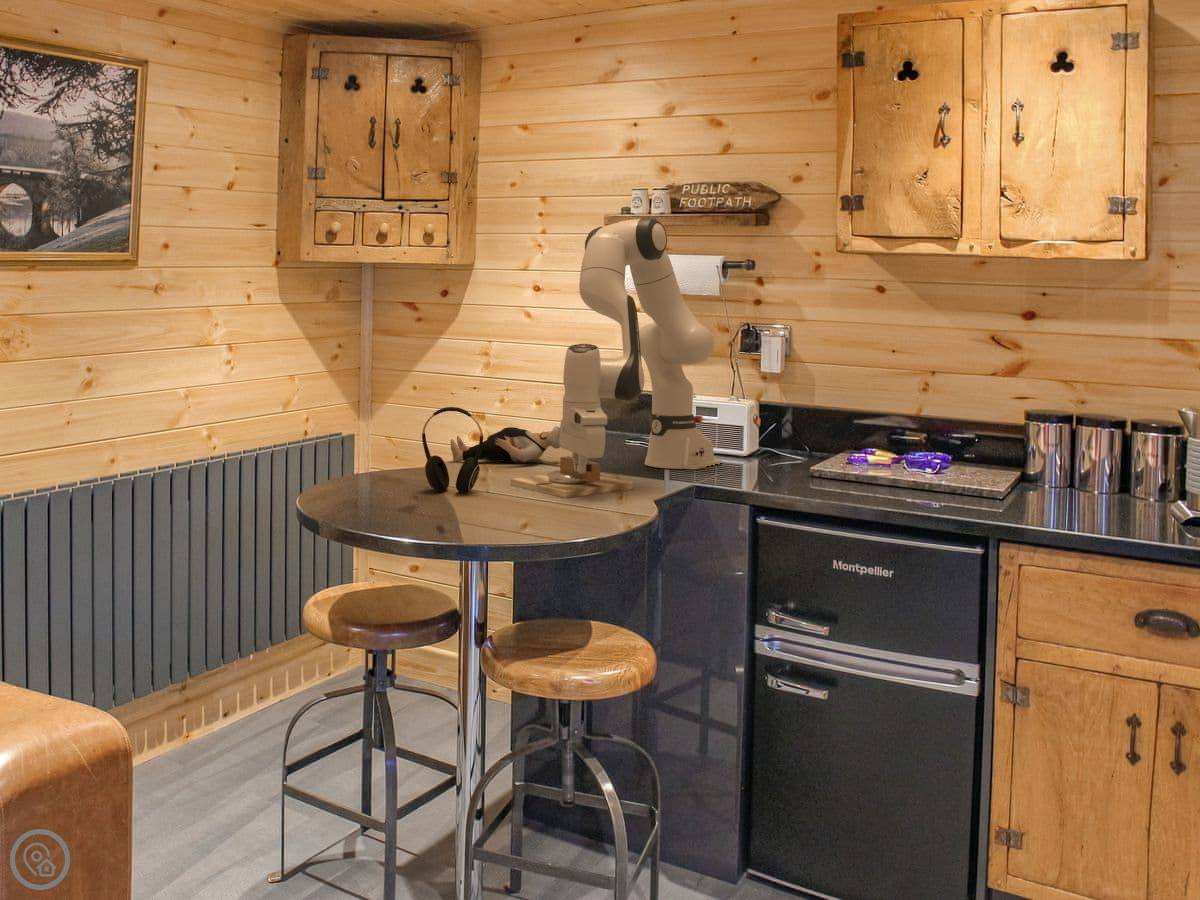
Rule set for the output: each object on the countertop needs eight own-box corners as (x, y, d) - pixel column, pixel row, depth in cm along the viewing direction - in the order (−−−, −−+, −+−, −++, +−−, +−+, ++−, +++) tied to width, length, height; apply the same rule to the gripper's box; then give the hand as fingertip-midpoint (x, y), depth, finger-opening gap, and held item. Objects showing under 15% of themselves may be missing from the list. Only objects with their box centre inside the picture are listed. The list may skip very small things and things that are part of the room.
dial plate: (576, 476, 287) (576, 470, 287) (632, 488, 271) (632, 481, 271) (510, 484, 273) (510, 477, 273) (565, 498, 258) (565, 490, 257)
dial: (539, 478, 273) (539, 457, 272) (576, 474, 280) (576, 453, 279) (576, 487, 261) (577, 465, 260) (614, 483, 267) (614, 462, 267)
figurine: (461, 431, 321) (563, 414, 318) (468, 467, 323) (570, 450, 319) (442, 442, 299) (552, 423, 295) (450, 480, 300) (559, 462, 296)
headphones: (428, 487, 268) (428, 403, 265) (488, 490, 266) (488, 406, 263) (416, 493, 260) (415, 407, 257) (477, 496, 257) (478, 410, 254)
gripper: (553, 409, 271) (552, 466, 273) (584, 418, 252) (583, 479, 254) (577, 409, 274) (576, 465, 275) (610, 418, 255) (609, 478, 257)
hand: (579, 472), depth 265 cm, fingers closed
